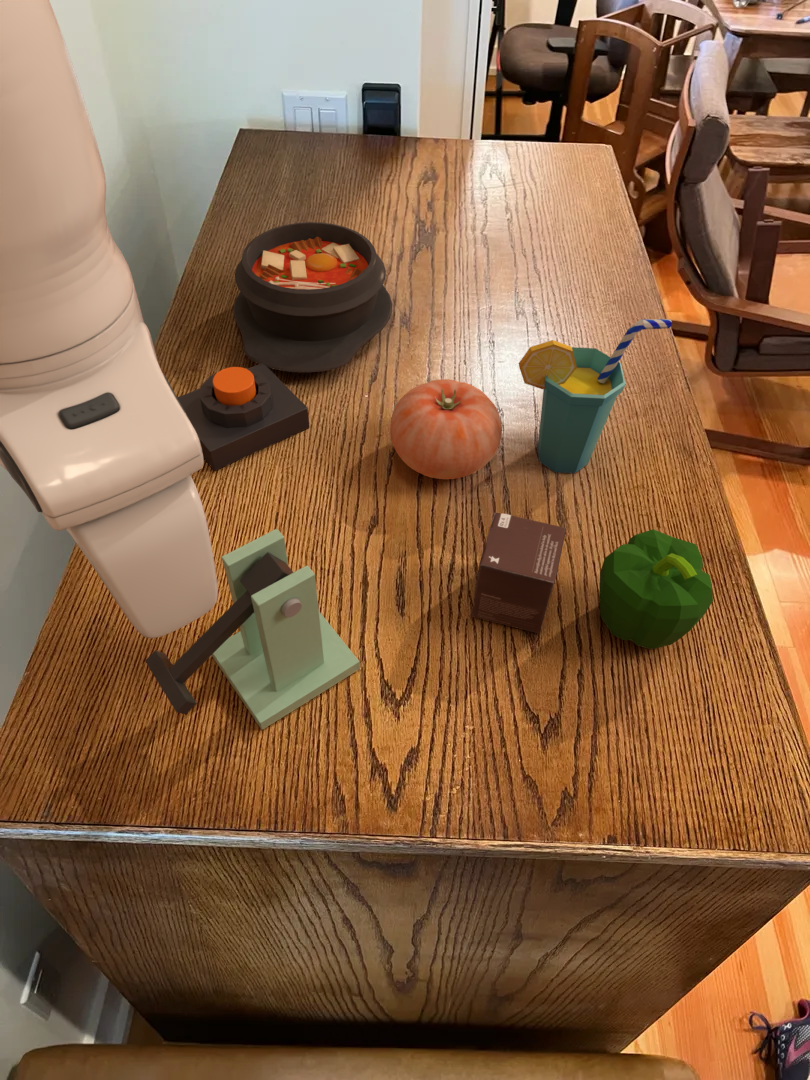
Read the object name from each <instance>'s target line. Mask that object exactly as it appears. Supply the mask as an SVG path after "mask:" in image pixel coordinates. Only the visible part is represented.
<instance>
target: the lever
mask: <svg viewBox="0 0 810 1080" xmlns="http://www.w3.org/2000/svg"><path fill="white" fill-rule="evenodd" d="M294 572H295V571H294V570H292V568H291V567H290V566H289V564H288V565H287V564H286V562H284V561H282V560H281V559H279V558H277V557H276V556H274V555H272V554H271V553H269V552H267V553H266V554H265V555H264V556H263V557H262V558H261V559H260V560H259V561H258V562H257V563H256V564H255V565H254V566H253V567H252V568H251V569H250V570H249V571H248V572H247V573H246V574H245V575H244V576H243V577H242V578H241V579H240V581H241V583H242V584H243V585H244V587H245V588H246V589H247V591H246V592H245V593H244V594H243V595H242V596H241V597H240V598H239V599H238V600H237V601H236V602H235V603H234V604H233V603H232V605H231V606H230V607H229V608H228V609H226V611H225V612H223V614H222V615H220V616H219V618H218V619H217V620H216V621H215V622H214V623H213V624H212V625H210V627H208V629H207V630H206V631H205V632H204V633H203V634H202V635H201V636H200V637H199V638H198V639H197V640H196V641H195V642H193V644H192V645H191V646H190V647H189V648H188V649H187V650H186V651H185V652H184V653H183V654H182V655H181V656H180V657H179V658H178V659H177V660H176V661H175V662H174V663H172V662H171V660H170V658H169V657H168V655H167V654H166V652H163V651H159V650H156V649H154V651H153V652H152V653H150V655H149V656H148V657H147V658H145V660H144V662H145V664H146V665H147V667H148V668H149V670H150V671H151V674H152V675H153V677H154V678H155V680H156V682H157V683H158V685H159V687H160V689H161V690H162V692H163V693H164V695H165V696H166V698H167V700H168V701H169V703H170V705H171V706H172V708H173V709H174V711H175V712H176V714H177V713H178V714H180V715H181V714H182V715H188V713H189V712H190V711H192V710H193V708H194V707H195V706H196V705H197V704H198V703H197V701H196V700H195V698H194V696H193V694H192V693H191V692H190V690H189V689H188V687H187V686H186V684H185V683H186V682H187V681H188V680H189V678H191V676H192V675H194V674H195V673H196V672H197V670H199V669H200V667H201V666H202V665H204V663H206V662H207V661H208V659H209V658H210V657H212V654H213V653H214V652H215V651H216V650H217V649H218V648H219V647H220V646H221V645H222V644H223V643H224V642H225V641H226V640H227V639H228V638H229V637H231V636H233V635H234V634H235V632H236V631H237V630H238V629H240V628H239V627H240V626H241V625H242V624H243V623H244V622H245V621H246V620H247V619H248V618H249V617H250V616H251V615H252V614H253V613H254V608H253V604H252V599H251V595H253V594H255V593H257V592H259V591H261V590H262V589H264V588H266V587H268V586H270V585H272V584H273V583H275V582H277V581H279V580H281V579H283V578H285V577H286V576H288V575H290V574H292V573H294Z"/></svg>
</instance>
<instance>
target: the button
mask: <svg viewBox="0 0 810 1080" xmlns="http://www.w3.org/2000/svg"><path fill="white" fill-rule="evenodd" d="M247 369H248V368H244V367H241V366H230V367H225V368H223V369H221V370H219V371H218V372H216V373H215V374H216V375H215V376H214V378H213V386H214V391H215V396H216V399H217V400H218V401H219V402H220V403H222V404H224V405H227V406H233V405H242V404H245V403H247V402H249V401H251V400H252V399H253V398H254V397H255V395H256V387H255V381H254V376H253V374H252V373H251V372H250V371H249V370H247Z"/></svg>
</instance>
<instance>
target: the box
mask: <svg viewBox="0 0 810 1080" xmlns="http://www.w3.org/2000/svg"><path fill="white" fill-rule="evenodd" d="M566 530H567V529H566V527H564V526H559V525H555V524H551V523H547V522H543V521H537V520H533V519H528V518H524V517H520V516H516V515H513V514H509V513H503V512H497V511H496V512H494V513H493V517H492V520H491V524H490V526H489V530H488V533H487V536H486V539H485V542H484V546H483V549H482V550H483V551H482V552H481V553H482V554H481V557H480V560H479V563H478V570H477V577H476V582H475V586H474V587H475V589H474V595H473V603H472V608H471V617H472V618H476V619H480V620H483V621H488V622H491V623H497V624H500V625H504V626H508V627H512V628H515V629H516V628H517V629H519V630H523V631H527V632H531V633H535V634H540V633H541V631H542V627H543V623H544V620H545V617H546V613H547V609H548V605H549V601H550V598H551V595H552V593H553V588H554V585H555V583H556V579H557V575H558V570H559V565H560V561H561V555H562V551H563V546H564V541H565V536H566Z"/></svg>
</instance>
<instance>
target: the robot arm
mask: <svg viewBox="0 0 810 1080" xmlns="http://www.w3.org/2000/svg"><path fill="white" fill-rule="evenodd" d="M106 196H107V180H106V173H105V168H104V163H103V160H102V157H101V153H100V148H99V146H98V142H97V139H96V135H95V131H94V128H93V126H92V122H91V118H90V114H89V112H88V108H87V105H86V101H85V98H84V94H83V92H82V89H81V85H80V83H79V79H78V77H77V72H76V70H75V66H74V64H73V61H72V58H71V55H70V52H69V49H68V46H67V44H66V40H65V38H64V34H63V32H62V30H61V26H60V24H59V22H58V19H57V16H56V14H55V12H54V9H53V7H52V4H51V2H50V0H0V466H1V467H2V468H3V469H4V470H6V472H7V473H8V474H9V475H10V477H11V478H12V479H13V480H14V482H15V483H16V484H17V485H18V486H19V487H20V489H21V490H22V491H23V492H24V494H25V495H26V497H27V498H28V499H29V500H30V502H31V504H32V505H33V507H34V508H35V510H36V512H37V513H41V515H42V516H43V518H44V519H45V521H46V522H47V524H48V526H49V528H51V529H52V530H54V531H57V532H61V531H64V530H66V532H67V533H68V534H69V535H70V537H71V538H72V539H73V541H74V543H76V545H77V547H78V548H79V550H81V552H82V553H83V555H84V557H86V558H85V559H86V560H87V561H88V562H89V564H90V565H91V567H92V568H93V569H94V571H95V573H96V574H97V575H98V577H99V579H100V580H101V581H102V583H103V584H104V586H105V588H106V589H107V590H108V592H109V593H110V595H111V596H112V598H113V599H114V601H115V602H116V603H117V605H118V607H119V608H120V609H121V611H122V613H123V615H124V616H125V617H126V619H127V620H128V621H129V623H130V624H131V626H133V628H134V629H135V631H137V633H139V634H140V635H141V636H142V637H144V638H146V639H157V638H161V637H164V636H167V635H169V634H171V633H173V632H175V631H178V630H180V629H181V628H184V627H185V626H187V625H190V624H191V623H193V622H195V621H196V620H198V619H200V618H201V617H203V616H204V615H206V614H207V613H208V612H210V611H211V610H212V609H213V608H214V606H215V605H216V604H217V602H218V597H219V584H218V578H217V571H216V564H215V558H214V553H213V552H214V551H213V546H212V541H211V536H210V535H211V534H210V531H209V526H208V520H207V517H206V513H205V509H204V505H203V502H202V498H201V496H200V494H199V491H198V488H197V486H196V484H195V480H194V479H193V477H192V475H193V474H195V473H196V472H198V471H200V470H201V469H203V467H204V465H205V459H204V458H203V453H202V448H201V444H200V441H199V438H198V435H197V433H196V431H195V429H194V427H193V425H192V424H191V422H190V420H189V417H188V415H187V414H186V412H185V410H184V408H183V407H182V405H181V403H180V402H179V400H178V398H177V395H176V393H175V391H174V389H173V387H172V386H171V383H170V381H169V380H168V378H167V376H166V374H164V373H163V371H162V369H161V367H160V364H159V361H158V357H157V354H156V349H155V346H154V342H153V338H152V335H151V332H150V329H149V327H148V326H147V324H146V323H145V320H144V317H143V312H142V310H141V305H140V302H139V297H138V294H137V291H136V287H135V282H134V279H133V275H132V272H131V270H130V269H131V268H130V265H129V263H128V262H127V260H126V259H125V257H124V254H123V252H122V251H121V250H120V248H119V246H118V245H117V244H116V242H115V240H114V237H113V236H112V233H111V231H110V228H109V224H108V219H107V212H106V203H107V202H106V201H107V197H106Z"/></svg>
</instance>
